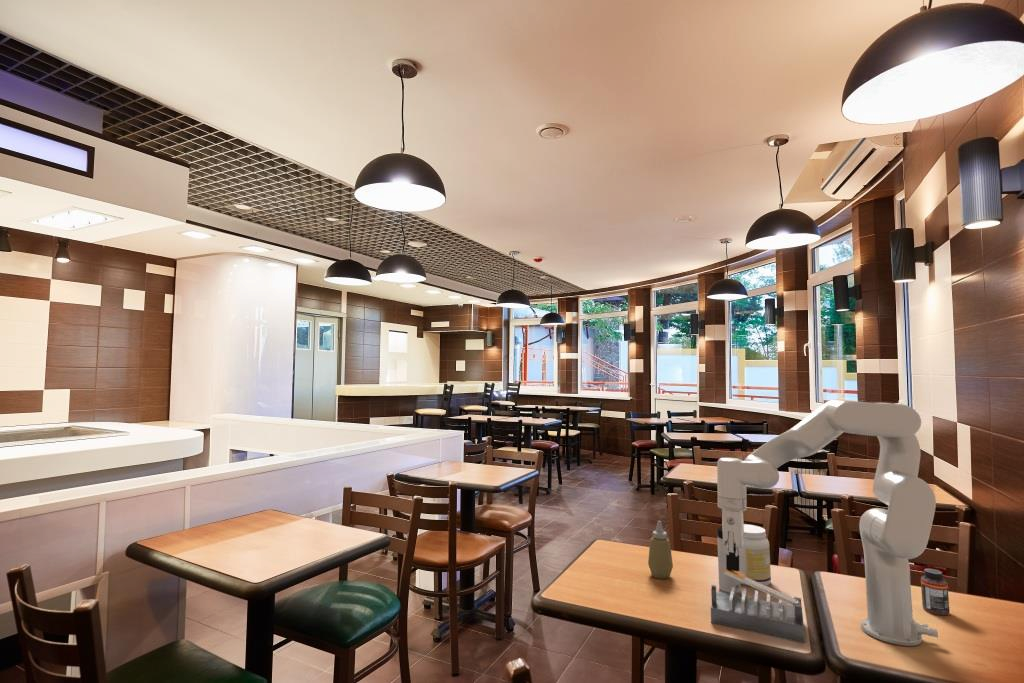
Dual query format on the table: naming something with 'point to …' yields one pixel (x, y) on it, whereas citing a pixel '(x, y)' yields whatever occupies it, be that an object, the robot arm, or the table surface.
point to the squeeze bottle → (660, 554)
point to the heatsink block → (757, 615)
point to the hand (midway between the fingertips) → (732, 569)
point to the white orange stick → (761, 587)
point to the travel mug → (725, 580)
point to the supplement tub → (755, 555)
